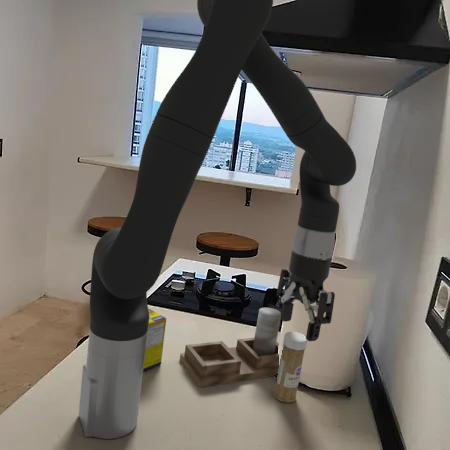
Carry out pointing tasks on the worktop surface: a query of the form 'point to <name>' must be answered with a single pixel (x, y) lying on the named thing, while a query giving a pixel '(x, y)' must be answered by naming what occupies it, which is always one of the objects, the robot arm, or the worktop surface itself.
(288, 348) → the sprinkles bottle
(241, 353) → the rack
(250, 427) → the worktop surface
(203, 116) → the robot arm
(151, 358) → the supplement box
